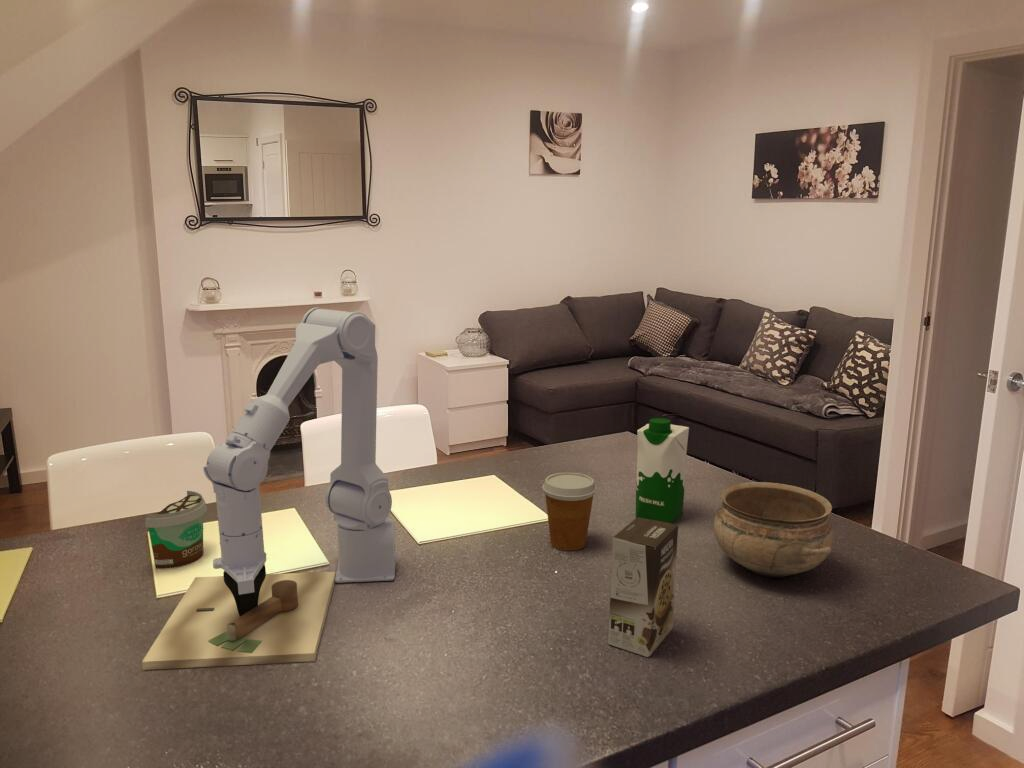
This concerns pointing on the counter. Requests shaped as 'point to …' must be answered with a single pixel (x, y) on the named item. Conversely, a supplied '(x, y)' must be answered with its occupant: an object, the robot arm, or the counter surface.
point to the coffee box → (642, 585)
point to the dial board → (280, 639)
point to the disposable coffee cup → (568, 509)
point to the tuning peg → (265, 609)
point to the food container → (178, 532)
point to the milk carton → (661, 470)
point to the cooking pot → (774, 527)
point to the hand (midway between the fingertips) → (248, 616)
